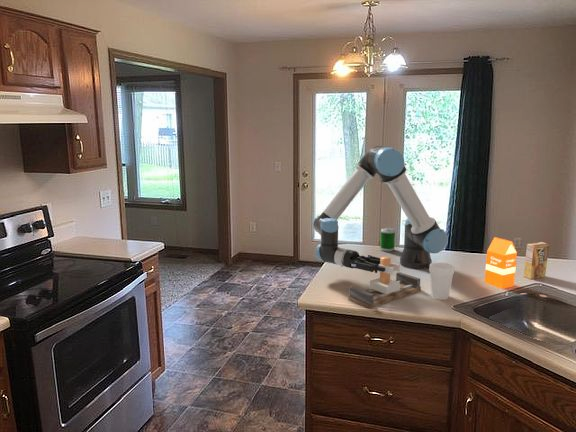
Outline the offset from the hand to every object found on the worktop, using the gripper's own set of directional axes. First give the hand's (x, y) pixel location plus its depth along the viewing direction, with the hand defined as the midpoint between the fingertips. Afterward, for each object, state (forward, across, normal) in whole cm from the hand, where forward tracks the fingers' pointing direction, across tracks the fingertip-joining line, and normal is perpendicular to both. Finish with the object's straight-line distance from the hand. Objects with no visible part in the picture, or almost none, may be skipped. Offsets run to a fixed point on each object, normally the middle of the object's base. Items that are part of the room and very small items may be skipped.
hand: (396, 269), depth 181 cm
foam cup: (+13, -13, -12) cm, 22 cm away
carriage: (-5, 0, -9) cm, 11 cm away
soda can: (-38, -58, -12) cm, 70 cm away
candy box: (+34, -63, -12) cm, 73 cm away
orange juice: (+25, -43, -12) cm, 52 cm away
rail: (-5, -1, -12) cm, 13 cm away
